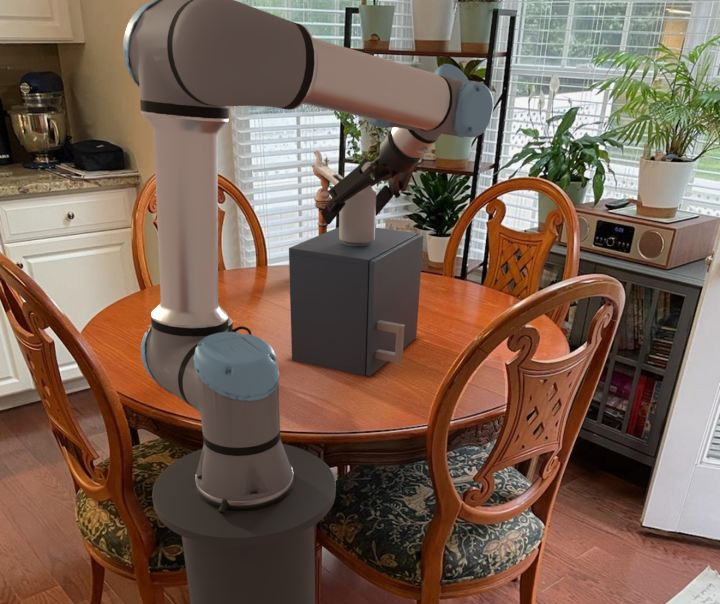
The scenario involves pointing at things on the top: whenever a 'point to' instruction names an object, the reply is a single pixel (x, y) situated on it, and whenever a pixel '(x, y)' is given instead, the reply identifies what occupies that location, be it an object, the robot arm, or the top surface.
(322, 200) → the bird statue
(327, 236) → the cupboard
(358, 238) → the can
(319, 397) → the top surface
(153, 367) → the robot arm
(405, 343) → the cupboard door
